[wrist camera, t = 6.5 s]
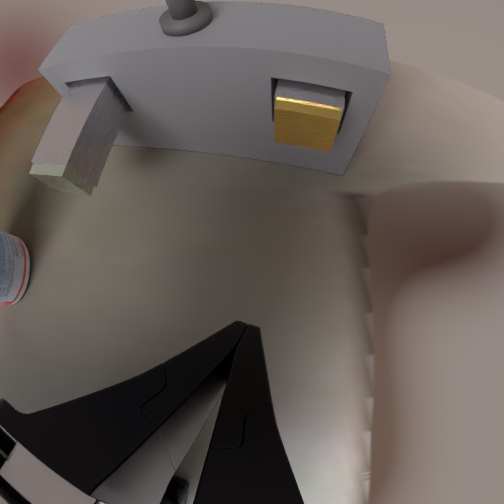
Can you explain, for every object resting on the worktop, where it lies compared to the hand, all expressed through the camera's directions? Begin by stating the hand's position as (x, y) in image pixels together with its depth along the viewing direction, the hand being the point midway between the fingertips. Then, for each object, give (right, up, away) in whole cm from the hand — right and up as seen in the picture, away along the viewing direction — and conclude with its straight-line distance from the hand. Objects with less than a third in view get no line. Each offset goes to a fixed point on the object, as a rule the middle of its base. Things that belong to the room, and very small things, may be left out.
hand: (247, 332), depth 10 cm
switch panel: (-2, +11, +10) cm, 16 cm away
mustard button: (+3, +11, +5) cm, 13 cm away
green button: (-9, +10, +5) cm, 14 cm away
